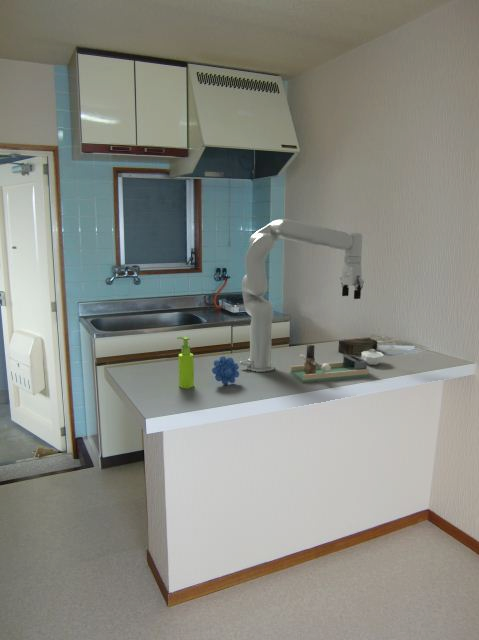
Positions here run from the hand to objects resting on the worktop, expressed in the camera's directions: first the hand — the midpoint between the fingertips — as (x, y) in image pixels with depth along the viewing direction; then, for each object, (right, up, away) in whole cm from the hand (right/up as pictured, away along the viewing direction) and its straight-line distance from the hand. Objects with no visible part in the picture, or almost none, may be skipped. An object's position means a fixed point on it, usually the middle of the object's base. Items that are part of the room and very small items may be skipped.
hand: (351, 297), depth 235 cm
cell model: (+10, -31, +1) cm, 33 cm away
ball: (-14, -31, -17) cm, 38 cm away
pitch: (-13, -34, -16) cm, 40 cm away
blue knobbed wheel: (-57, -37, -30) cm, 74 cm away
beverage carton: (+9, -27, +24) cm, 37 cm away
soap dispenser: (-73, -37, -30) cm, 87 cm away
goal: (-1, -32, -12) cm, 35 cm away
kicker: (-22, -33, -18) cm, 44 cm away
